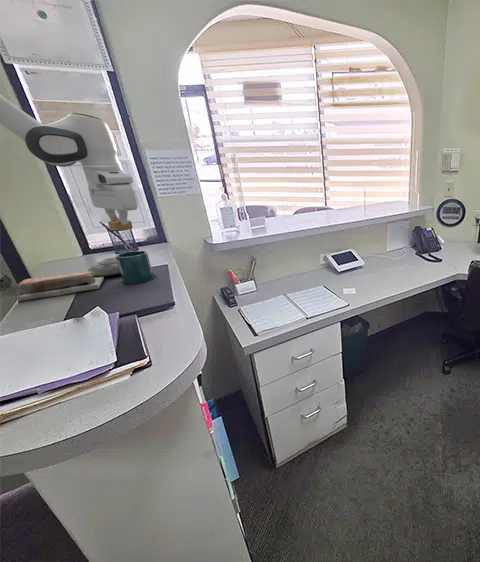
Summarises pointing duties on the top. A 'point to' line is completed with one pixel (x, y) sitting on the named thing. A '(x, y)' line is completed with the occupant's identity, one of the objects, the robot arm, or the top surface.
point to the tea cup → (135, 267)
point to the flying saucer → (105, 267)
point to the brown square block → (119, 225)
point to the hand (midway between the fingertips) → (120, 223)
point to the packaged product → (57, 285)
